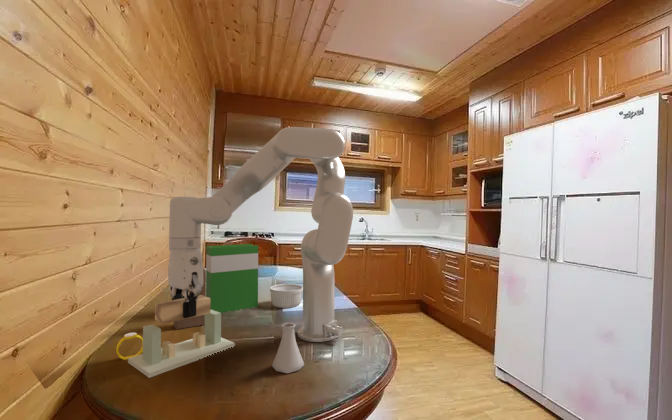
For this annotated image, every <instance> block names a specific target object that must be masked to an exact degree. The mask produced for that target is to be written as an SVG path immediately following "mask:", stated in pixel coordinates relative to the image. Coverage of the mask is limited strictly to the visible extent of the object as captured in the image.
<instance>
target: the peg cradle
mask: <svg viewBox="0 0 672 420" xmlns="http://www.w3.org/2000/svg"><path fill="white" fill-rule="evenodd" d="M142 339H143V352H142V353H141V354H140V355H138V356H134V357H131V358H128V359H127V363H128V364H129V365H130V366H132V367H133V368H135V369H136V370H138V371H139V372H140V373H142V374H143V375H144V376H145V377H147V378H149V379H150V378H153V377H155V376H158V375H161V374H163V373H166V372H170V371H172V370H175V369H177V368H179V367H182V366H186V365H188V364H192V363H194V362H197V361H199V359H200V360H202V359H205V358H207V356H208V357H210V356H213V355H215V354H214V353H216V354H218V353H217V352H219V353H221V352H223V350H224V351H227V350H229V349H228V348H230V349H232V348H234V346H235V347H236V343H235V342H233V341H231V340H229V339H226V338H224V337H222V313H220V312H217V311H214V310H210V313H209V314H205V325H204V334H203V333H201V332H200V331H196V332H193V333H192V338H190V339H187V340H183V341H181V342H177V343H173V342H172V341H170V340H166V341H162V329H161V328H160V327H158V326H156V325H155V324H148V325H143V326H142ZM231 347H232V348H231ZM226 349H227V350H226ZM220 351H221V352H220ZM212 354H213V355H212ZM209 355H210V356H209ZM204 357H205V358H204Z"/></svg>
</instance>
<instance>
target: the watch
mask: <svg viewBox="0 0 672 420" xmlns="http://www.w3.org/2000/svg"><path fill="white" fill-rule="evenodd" d="M135 338H137V339H139V340H141V347H140V349H139V351H138V352H137V353H136V354H132V355H126V356H124V355H122V354H120V352H119V350H120V346H121V345H122V343H123V342H124V341H127V340H131V339H135ZM115 351H116V355H117V357H118V358H119V359H121V360H123V361H126V360H128V358H131V357H134V356H138V355H141V354H143V336H141V335H139V334H138V333H137V332H128V333H126V334H124V335H123V337H122V338H121V339H119V341H118V343H116V349H115Z"/></svg>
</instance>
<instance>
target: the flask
mask: <svg viewBox="0 0 672 420" xmlns="http://www.w3.org/2000/svg"><path fill="white" fill-rule="evenodd" d="M280 327H281V328H282V333H281V335H282V336H281V340H280V343H279V345H278V346H279V347H278V349H277V352H276V355H275V357H274V360H273V362H272V364H271V368H273V369H274V370H275V371H276V372H279V373H284V374H290V373H293V372H298V371H300V370H301V369H302V368H303V367H304V366H305V362H304V359H303V357H302V354H301V353H300V349H299V347H298V344H297V341H296V334H295V327H296V324H295V322H284V323H283V324H281V325H280Z"/></svg>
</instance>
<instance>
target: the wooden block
mask: <svg viewBox="0 0 672 420" xmlns="http://www.w3.org/2000/svg"><path fill="white" fill-rule="evenodd" d="M191 288H192V286H190V287H189V288H188V289H191ZM201 289H202V291H201V292H200V293H199V295H203V296H206V268H204V267H203V287H202V288H201ZM191 292H192V291H189V292H188V294H190V293H191ZM199 295H198V296H199ZM200 325H201V326H205V315H200V316H196V317H192V318H187V319H183V320H179V321H174V322H173V326H174V328H175V330H183V329H187V328H193V327H194V326H195V327H201V326H200ZM195 327H194V328H195Z"/></svg>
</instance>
